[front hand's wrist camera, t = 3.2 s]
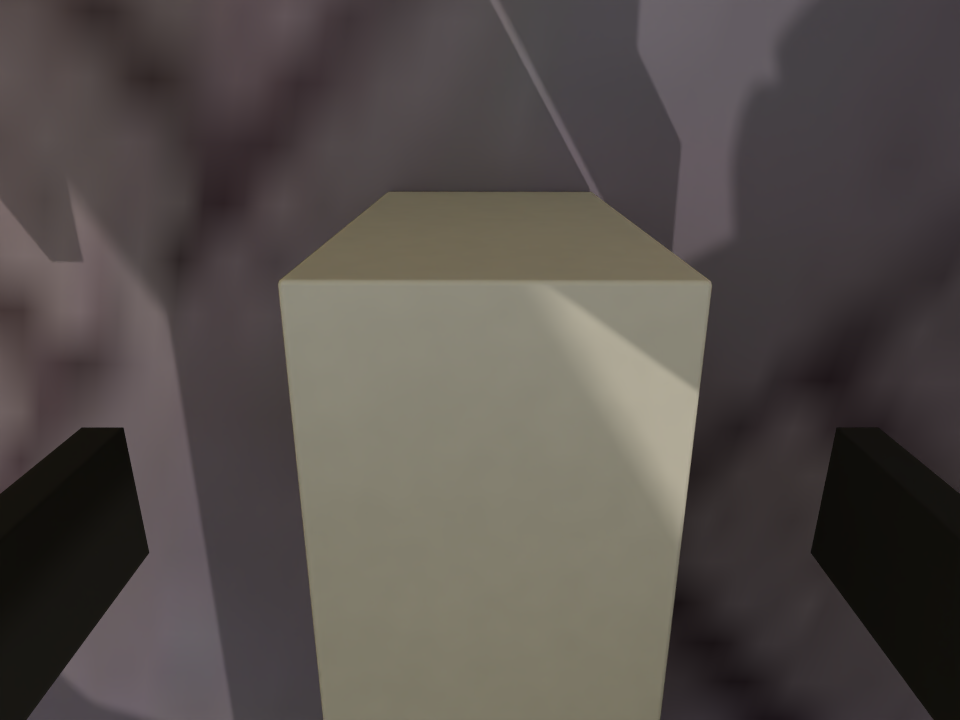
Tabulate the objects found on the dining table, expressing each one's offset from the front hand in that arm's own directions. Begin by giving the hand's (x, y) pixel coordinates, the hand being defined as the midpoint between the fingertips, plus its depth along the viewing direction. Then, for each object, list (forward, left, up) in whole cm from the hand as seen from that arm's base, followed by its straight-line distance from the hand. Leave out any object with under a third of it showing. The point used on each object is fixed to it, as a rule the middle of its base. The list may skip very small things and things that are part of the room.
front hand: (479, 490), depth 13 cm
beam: (-10, +17, -4) cm, 21 cm away
